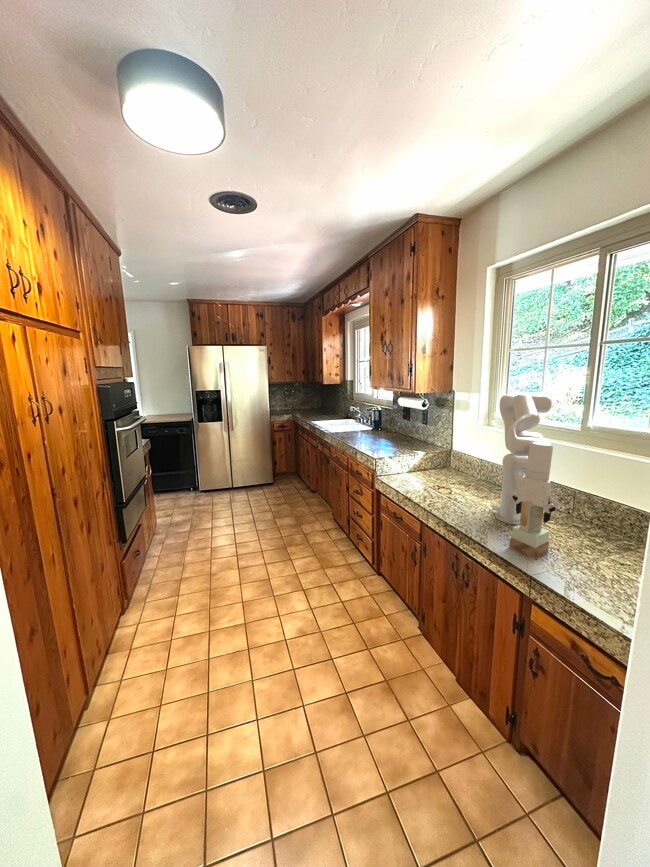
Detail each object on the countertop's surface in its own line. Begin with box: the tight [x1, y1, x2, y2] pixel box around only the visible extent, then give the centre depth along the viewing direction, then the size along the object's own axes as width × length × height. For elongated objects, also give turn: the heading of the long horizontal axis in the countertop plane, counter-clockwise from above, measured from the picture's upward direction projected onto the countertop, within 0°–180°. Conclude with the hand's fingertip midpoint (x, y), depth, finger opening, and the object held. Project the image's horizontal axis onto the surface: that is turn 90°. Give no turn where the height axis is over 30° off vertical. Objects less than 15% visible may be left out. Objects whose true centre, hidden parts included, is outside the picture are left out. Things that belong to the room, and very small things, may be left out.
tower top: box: [511, 525, 550, 548], centre depth 134 cm, size 9×9×4 cm
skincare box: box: [520, 501, 544, 532], centre depth 132 cm, size 6×4×12 cm
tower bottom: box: [508, 537, 550, 561], centre depth 134 cm, size 10×10×4 cm
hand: (531, 517), depth 132 cm, fingers open, 9 cm apart
